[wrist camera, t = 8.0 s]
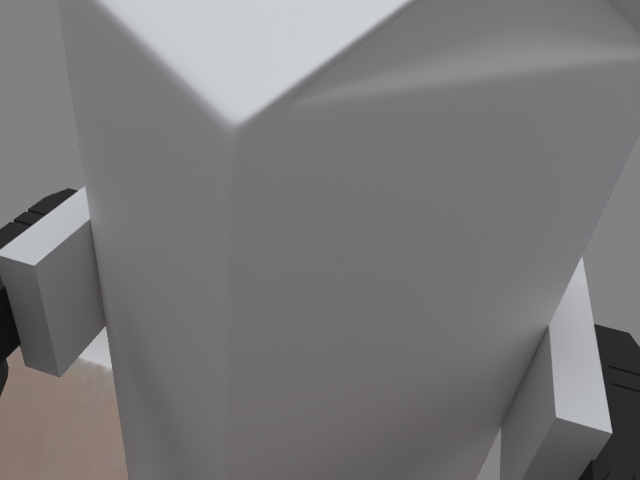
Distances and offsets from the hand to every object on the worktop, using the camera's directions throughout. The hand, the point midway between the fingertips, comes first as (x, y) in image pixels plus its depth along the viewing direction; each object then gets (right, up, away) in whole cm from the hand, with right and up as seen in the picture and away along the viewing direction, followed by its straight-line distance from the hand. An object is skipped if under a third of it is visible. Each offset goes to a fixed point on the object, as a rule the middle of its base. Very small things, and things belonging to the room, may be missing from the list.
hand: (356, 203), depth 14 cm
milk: (-3, -13, +4) cm, 14 cm away
